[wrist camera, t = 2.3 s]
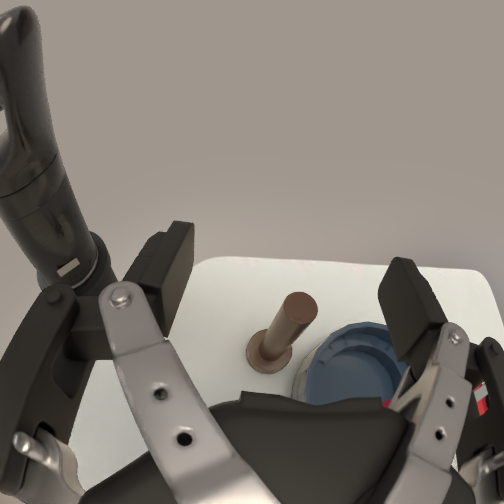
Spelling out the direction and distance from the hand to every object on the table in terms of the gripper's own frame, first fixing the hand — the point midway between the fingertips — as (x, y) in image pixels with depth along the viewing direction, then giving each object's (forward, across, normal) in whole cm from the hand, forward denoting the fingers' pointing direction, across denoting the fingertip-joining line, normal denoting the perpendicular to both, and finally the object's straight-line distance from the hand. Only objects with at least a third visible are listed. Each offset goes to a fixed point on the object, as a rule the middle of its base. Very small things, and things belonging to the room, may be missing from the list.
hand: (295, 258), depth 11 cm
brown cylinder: (+9, -2, +20) cm, 22 cm away
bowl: (+5, -13, +22) cm, 26 cm away
